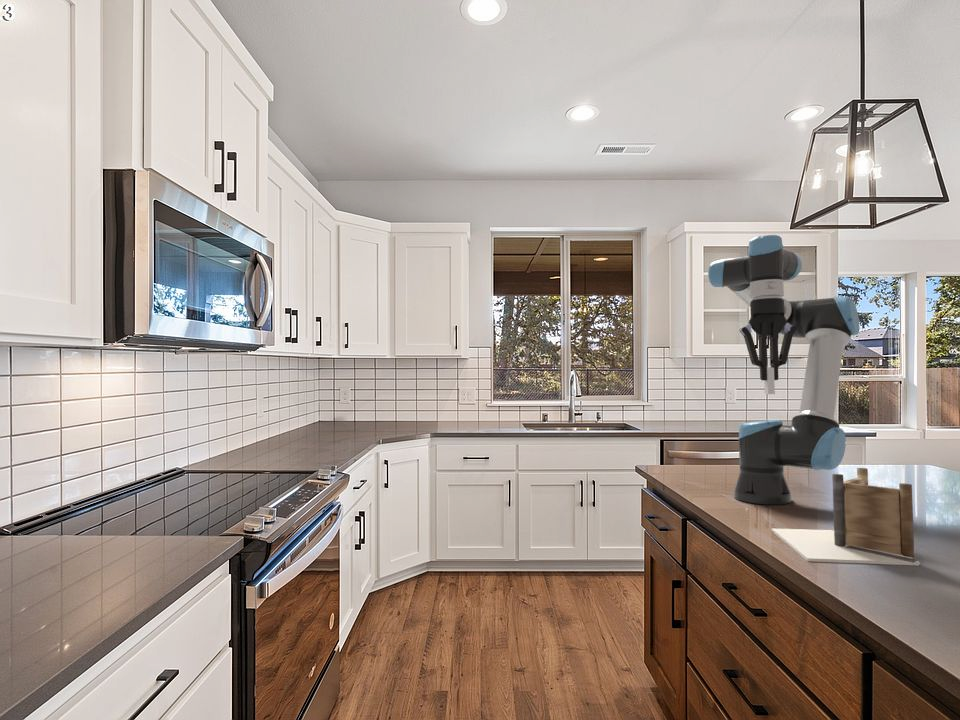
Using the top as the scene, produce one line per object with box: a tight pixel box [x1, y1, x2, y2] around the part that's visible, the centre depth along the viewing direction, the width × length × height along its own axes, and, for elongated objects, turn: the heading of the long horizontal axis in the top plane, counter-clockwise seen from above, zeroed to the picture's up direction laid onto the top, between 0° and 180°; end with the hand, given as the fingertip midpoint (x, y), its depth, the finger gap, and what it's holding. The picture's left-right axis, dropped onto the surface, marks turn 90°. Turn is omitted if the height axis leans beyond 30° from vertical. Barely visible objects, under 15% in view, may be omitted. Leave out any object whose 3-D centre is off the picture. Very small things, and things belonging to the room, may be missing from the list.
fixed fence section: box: [831, 467, 869, 547], centre depth 125 cm, size 14×2×15 cm, turn 125°
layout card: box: [771, 528, 921, 566], centre depth 122 cm, size 22×20×1 cm
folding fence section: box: [845, 483, 915, 558], centre depth 116 cm, size 11×2×14 cm, turn 39°
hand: (769, 393), depth 141 cm, fingers closed
